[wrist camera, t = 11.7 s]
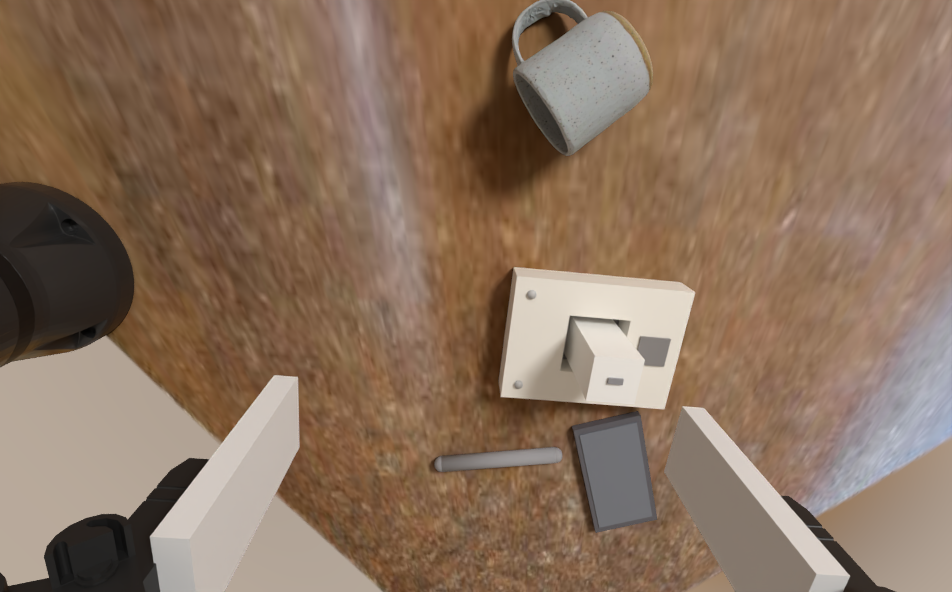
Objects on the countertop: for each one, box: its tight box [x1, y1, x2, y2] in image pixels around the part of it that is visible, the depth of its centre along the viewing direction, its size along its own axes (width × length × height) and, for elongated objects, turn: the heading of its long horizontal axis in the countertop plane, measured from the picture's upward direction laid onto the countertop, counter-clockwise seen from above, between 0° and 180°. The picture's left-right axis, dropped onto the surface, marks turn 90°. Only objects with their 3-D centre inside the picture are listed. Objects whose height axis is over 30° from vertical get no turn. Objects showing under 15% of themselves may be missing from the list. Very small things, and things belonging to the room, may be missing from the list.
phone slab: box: [572, 411, 657, 533], centre depth 52 cm, size 7×14×1 cm, turn 14°
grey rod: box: [434, 447, 562, 472], centre depth 51 cm, size 14×2×2 cm, turn 94°
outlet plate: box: [499, 267, 695, 409], centre depth 45 cm, size 16×12×3 cm
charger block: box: [564, 316, 645, 404], centre depth 42 cm, size 4×4×9 cm
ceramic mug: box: [512, 0, 653, 156], centre depth 35 cm, size 11×8×8 cm
